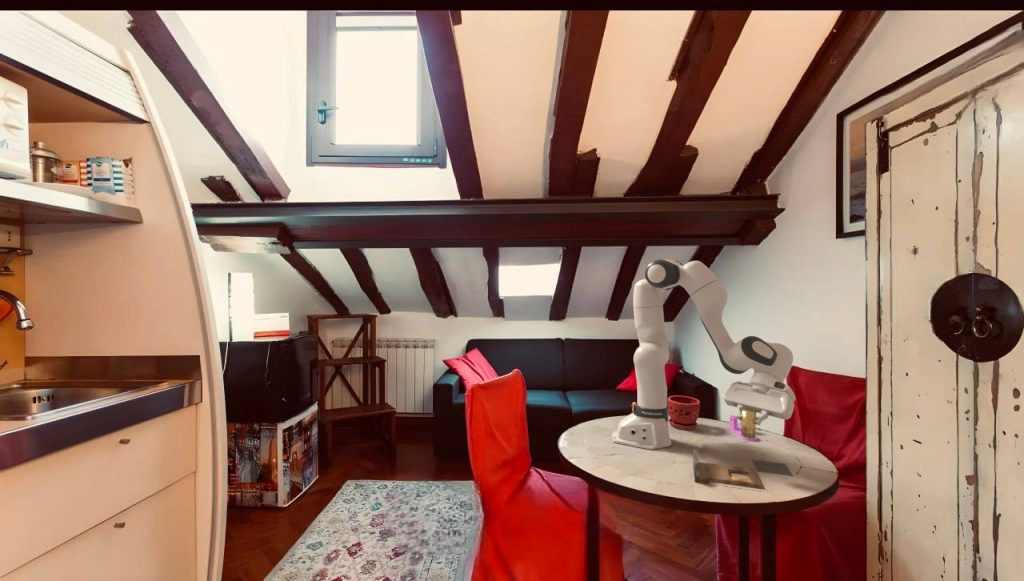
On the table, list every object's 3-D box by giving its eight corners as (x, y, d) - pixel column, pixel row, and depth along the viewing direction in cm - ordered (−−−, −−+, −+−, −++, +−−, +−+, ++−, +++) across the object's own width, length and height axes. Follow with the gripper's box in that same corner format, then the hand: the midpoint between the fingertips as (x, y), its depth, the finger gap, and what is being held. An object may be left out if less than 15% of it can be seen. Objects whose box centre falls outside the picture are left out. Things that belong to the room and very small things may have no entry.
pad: (757, 474, 136) (757, 471, 136) (751, 462, 145) (751, 459, 145) (793, 479, 132) (793, 476, 132) (785, 466, 142) (785, 463, 142)
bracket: (729, 430, 179) (729, 414, 179) (743, 430, 179) (742, 414, 179) (746, 441, 166) (745, 423, 166) (760, 441, 166) (760, 424, 166)
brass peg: (742, 437, 133) (742, 411, 133) (740, 433, 137) (740, 408, 137) (756, 438, 131) (757, 413, 131) (754, 434, 135) (754, 409, 135)
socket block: (694, 482, 131) (694, 462, 131) (693, 466, 142) (693, 449, 142) (761, 491, 124) (761, 471, 124) (754, 475, 135) (754, 456, 135)
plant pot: (665, 428, 181) (665, 400, 181) (669, 420, 192) (669, 394, 192) (698, 433, 175) (698, 404, 175) (701, 424, 186) (701, 397, 186)
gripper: (730, 374, 146) (712, 406, 141) (794, 387, 129) (777, 424, 124) (737, 386, 149) (720, 418, 144) (801, 399, 131) (785, 436, 126)
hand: (747, 421), depth 134 cm, fingers closed on brass peg, 4 cm apart
